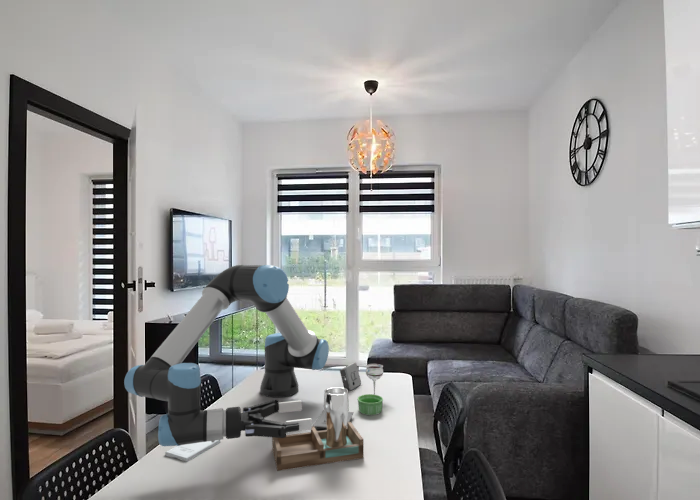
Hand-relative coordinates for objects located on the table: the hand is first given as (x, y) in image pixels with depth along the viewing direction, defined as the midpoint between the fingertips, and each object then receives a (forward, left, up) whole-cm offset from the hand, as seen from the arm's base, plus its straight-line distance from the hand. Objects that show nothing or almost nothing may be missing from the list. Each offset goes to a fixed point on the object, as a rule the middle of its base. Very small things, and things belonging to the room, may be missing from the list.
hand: (306, 414), depth 111 cm
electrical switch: (-52, +29, -11) cm, 60 cm away
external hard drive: (-13, -30, -12) cm, 35 cm away
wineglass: (-37, +34, -11) cm, 51 cm away
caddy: (0, +3, -11) cm, 12 cm away
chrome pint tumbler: (0, +9, -10) cm, 13 cm away
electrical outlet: (-18, +13, -12) cm, 25 cm away
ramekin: (-25, +28, -11) cm, 39 cm away
